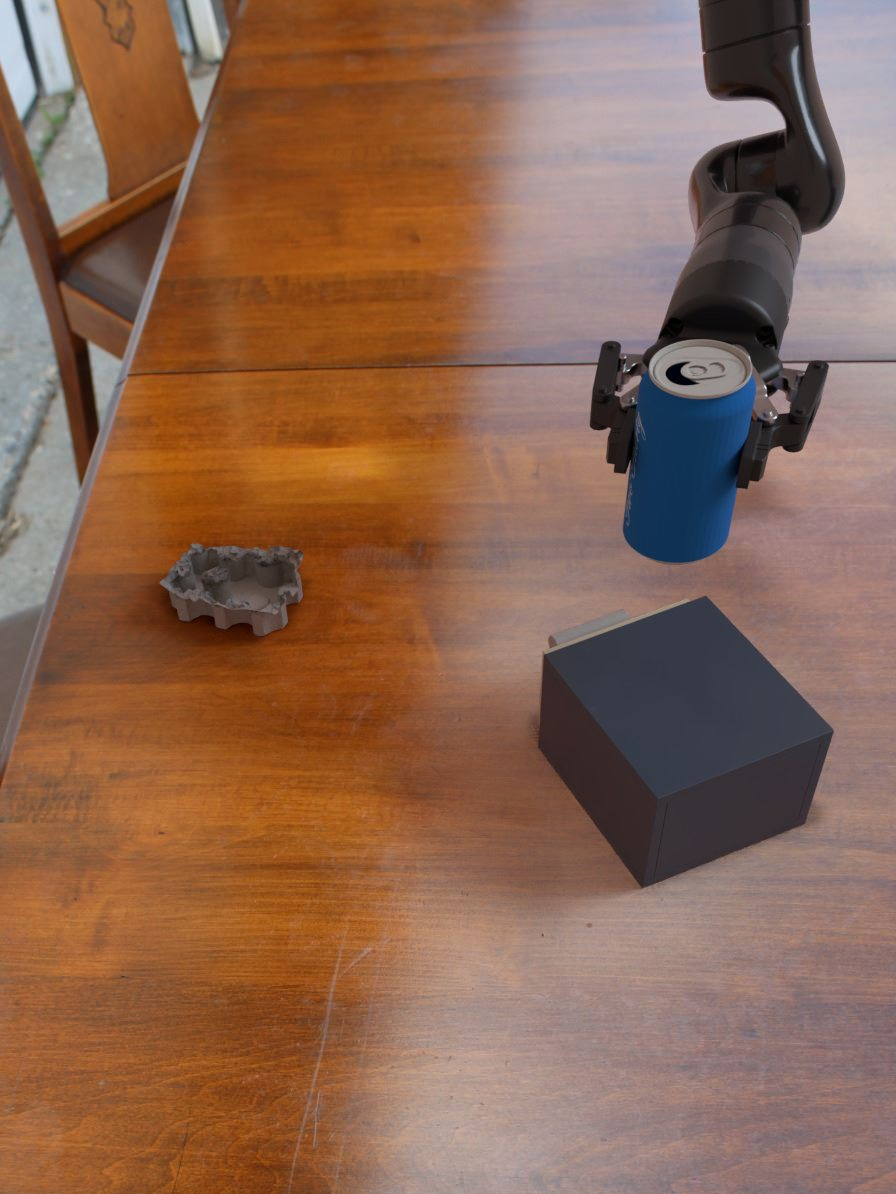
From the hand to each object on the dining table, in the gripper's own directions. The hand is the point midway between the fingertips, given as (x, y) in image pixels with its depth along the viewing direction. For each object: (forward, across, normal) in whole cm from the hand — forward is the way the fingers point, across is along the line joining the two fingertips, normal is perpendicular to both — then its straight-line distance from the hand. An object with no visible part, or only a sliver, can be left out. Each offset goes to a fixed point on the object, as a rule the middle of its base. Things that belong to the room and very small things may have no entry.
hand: (682, 468), depth 77 cm
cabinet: (+3, +2, +24) cm, 24 cm away
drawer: (0, 0, +23) cm, 23 cm away
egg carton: (-8, -35, +24) cm, 43 cm away
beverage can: (-2, 0, +7) cm, 8 cm away
